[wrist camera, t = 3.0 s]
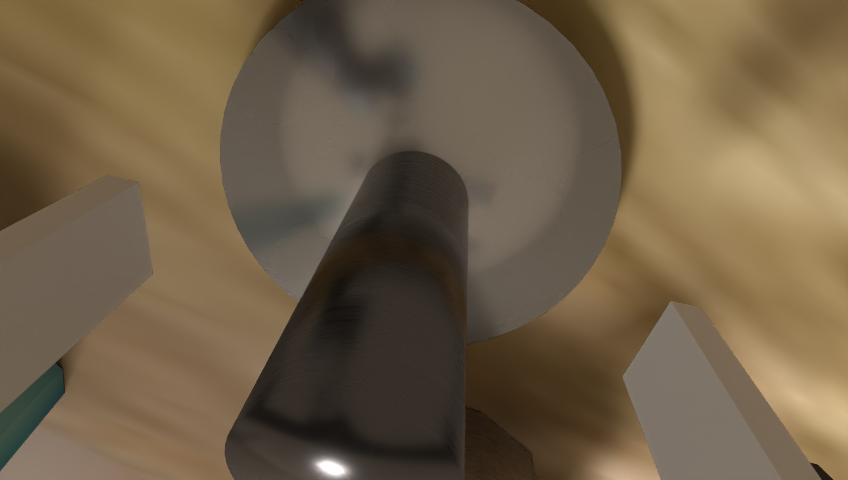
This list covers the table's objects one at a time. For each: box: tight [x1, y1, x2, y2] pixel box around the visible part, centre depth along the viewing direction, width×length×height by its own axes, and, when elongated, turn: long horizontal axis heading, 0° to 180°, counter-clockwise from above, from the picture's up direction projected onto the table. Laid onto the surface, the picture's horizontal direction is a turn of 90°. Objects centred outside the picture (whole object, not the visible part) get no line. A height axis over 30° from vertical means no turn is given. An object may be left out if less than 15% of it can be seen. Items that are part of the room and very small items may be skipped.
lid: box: [220, 0, 622, 480], centre depth 11 cm, size 13×13×10 cm
